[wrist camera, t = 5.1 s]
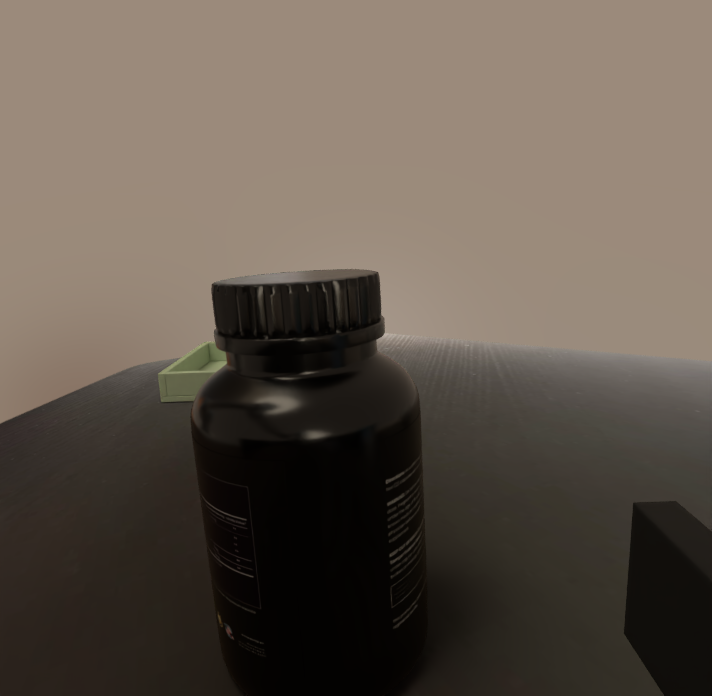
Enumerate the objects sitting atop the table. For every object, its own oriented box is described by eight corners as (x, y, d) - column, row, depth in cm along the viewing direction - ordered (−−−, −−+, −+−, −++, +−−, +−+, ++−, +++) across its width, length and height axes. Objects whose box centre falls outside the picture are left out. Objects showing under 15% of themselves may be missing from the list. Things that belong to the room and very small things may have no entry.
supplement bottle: (355, 551, 22) (341, 263, 20) (472, 654, 17) (473, 269, 14) (192, 619, 19) (149, 278, 16) (270, 779, 13) (224, 294, 11)
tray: (161, 402, 44) (157, 373, 44) (206, 364, 57) (204, 341, 57) (318, 396, 44) (316, 367, 43) (328, 359, 57) (327, 337, 56)
